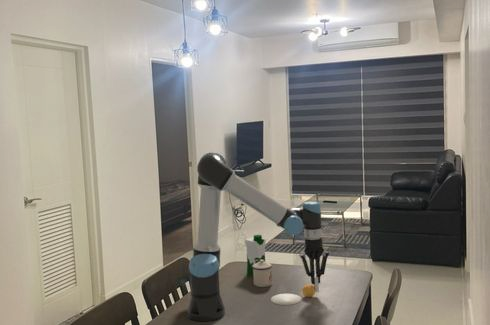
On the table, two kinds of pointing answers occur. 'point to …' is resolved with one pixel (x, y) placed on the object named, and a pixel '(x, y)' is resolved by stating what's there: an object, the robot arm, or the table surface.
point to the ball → (308, 290)
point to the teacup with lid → (262, 274)
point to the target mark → (286, 299)
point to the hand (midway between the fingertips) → (316, 290)
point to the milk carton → (254, 251)
